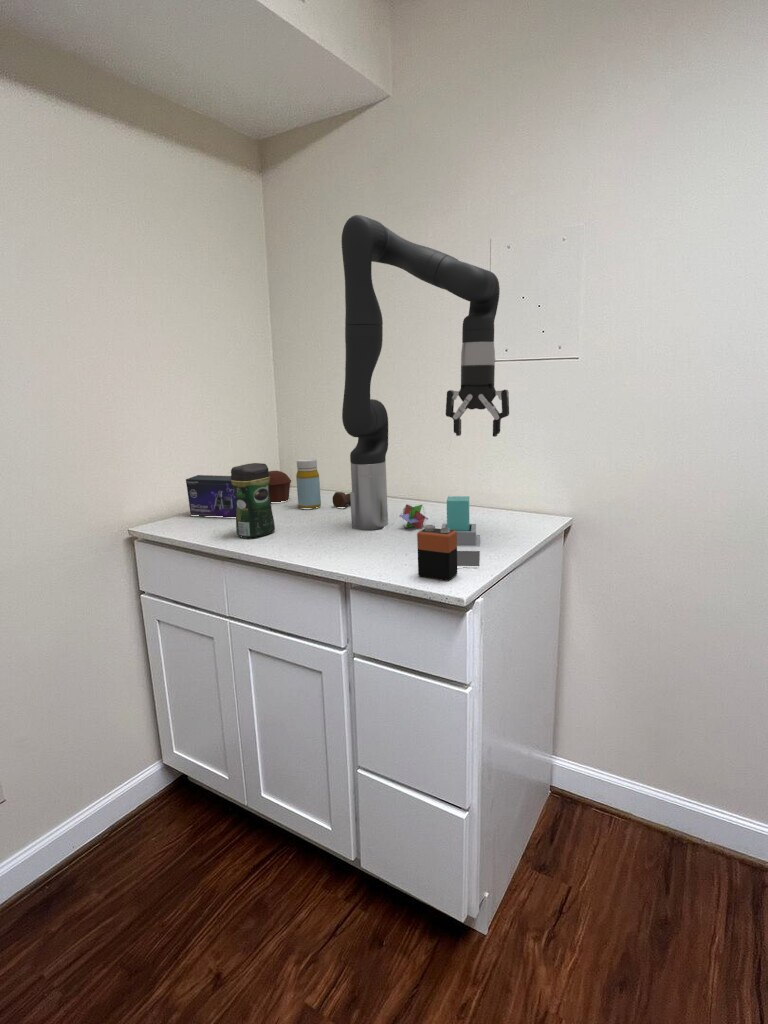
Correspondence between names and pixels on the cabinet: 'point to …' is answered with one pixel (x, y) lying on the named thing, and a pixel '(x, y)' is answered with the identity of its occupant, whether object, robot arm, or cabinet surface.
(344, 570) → the cabinet surface
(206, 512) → the box
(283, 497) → the muffin
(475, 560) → the mat
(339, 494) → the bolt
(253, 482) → the coffee jar
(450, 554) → the battery
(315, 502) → the bottle
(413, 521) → the geometric puzzle
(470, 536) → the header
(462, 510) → the teal block
